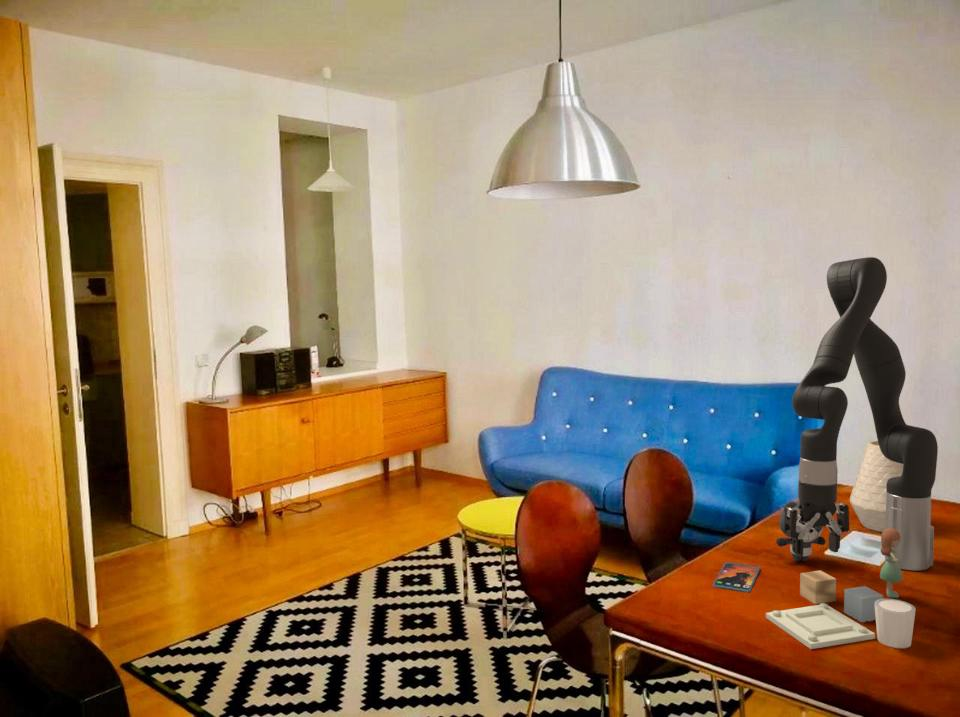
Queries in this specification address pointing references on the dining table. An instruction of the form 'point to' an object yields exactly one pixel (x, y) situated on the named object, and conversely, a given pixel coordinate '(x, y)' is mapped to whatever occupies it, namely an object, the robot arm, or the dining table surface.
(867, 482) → the vase
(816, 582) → the tan wooden cube
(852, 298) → the robot arm
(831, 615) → the baseplate
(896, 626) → the white cup
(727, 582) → the smartphone
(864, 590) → the grey cube
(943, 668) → the dining table surface
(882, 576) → the toy
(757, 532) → the dining table surface
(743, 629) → the dining table surface
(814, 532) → the toy
